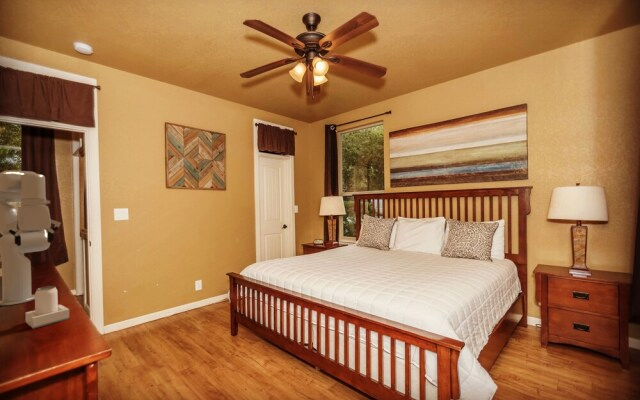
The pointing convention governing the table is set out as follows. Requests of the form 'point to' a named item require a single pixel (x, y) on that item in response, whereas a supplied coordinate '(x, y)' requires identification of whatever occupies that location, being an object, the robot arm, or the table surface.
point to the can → (46, 300)
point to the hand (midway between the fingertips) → (34, 244)
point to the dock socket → (47, 317)
